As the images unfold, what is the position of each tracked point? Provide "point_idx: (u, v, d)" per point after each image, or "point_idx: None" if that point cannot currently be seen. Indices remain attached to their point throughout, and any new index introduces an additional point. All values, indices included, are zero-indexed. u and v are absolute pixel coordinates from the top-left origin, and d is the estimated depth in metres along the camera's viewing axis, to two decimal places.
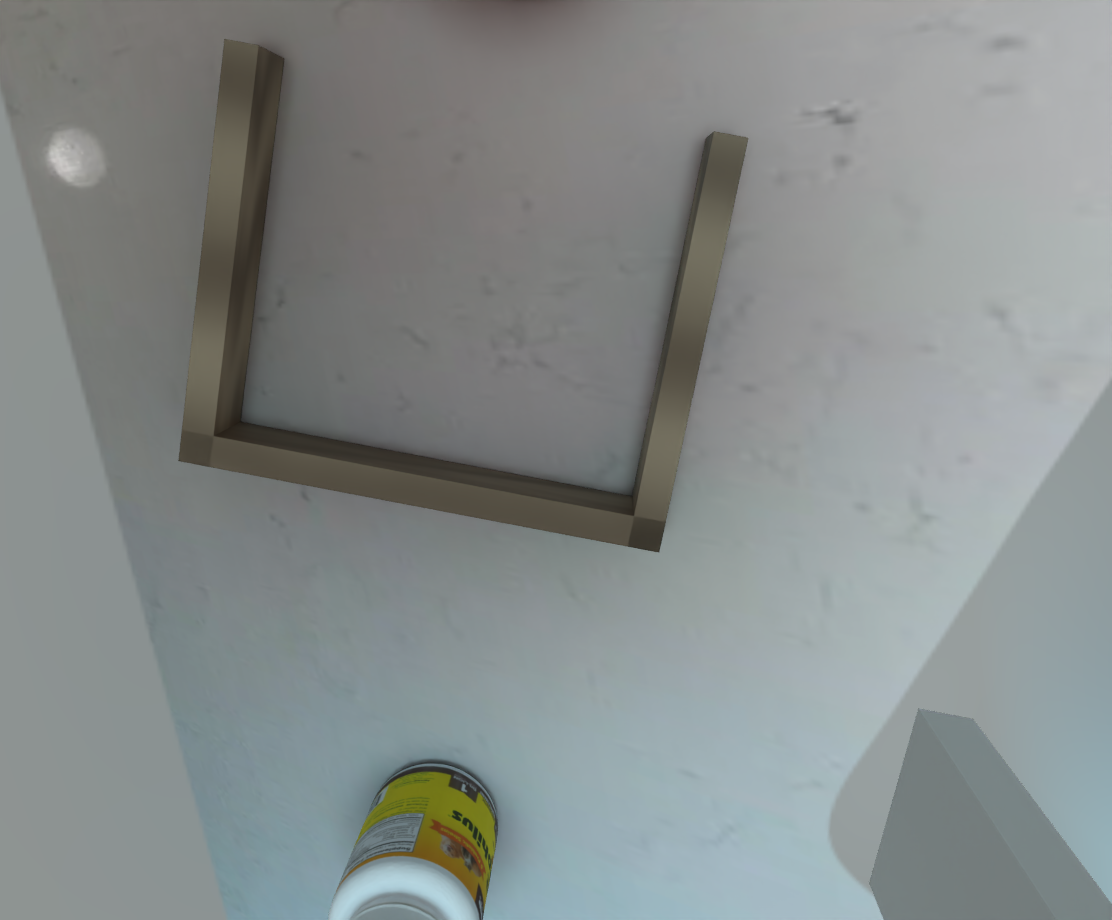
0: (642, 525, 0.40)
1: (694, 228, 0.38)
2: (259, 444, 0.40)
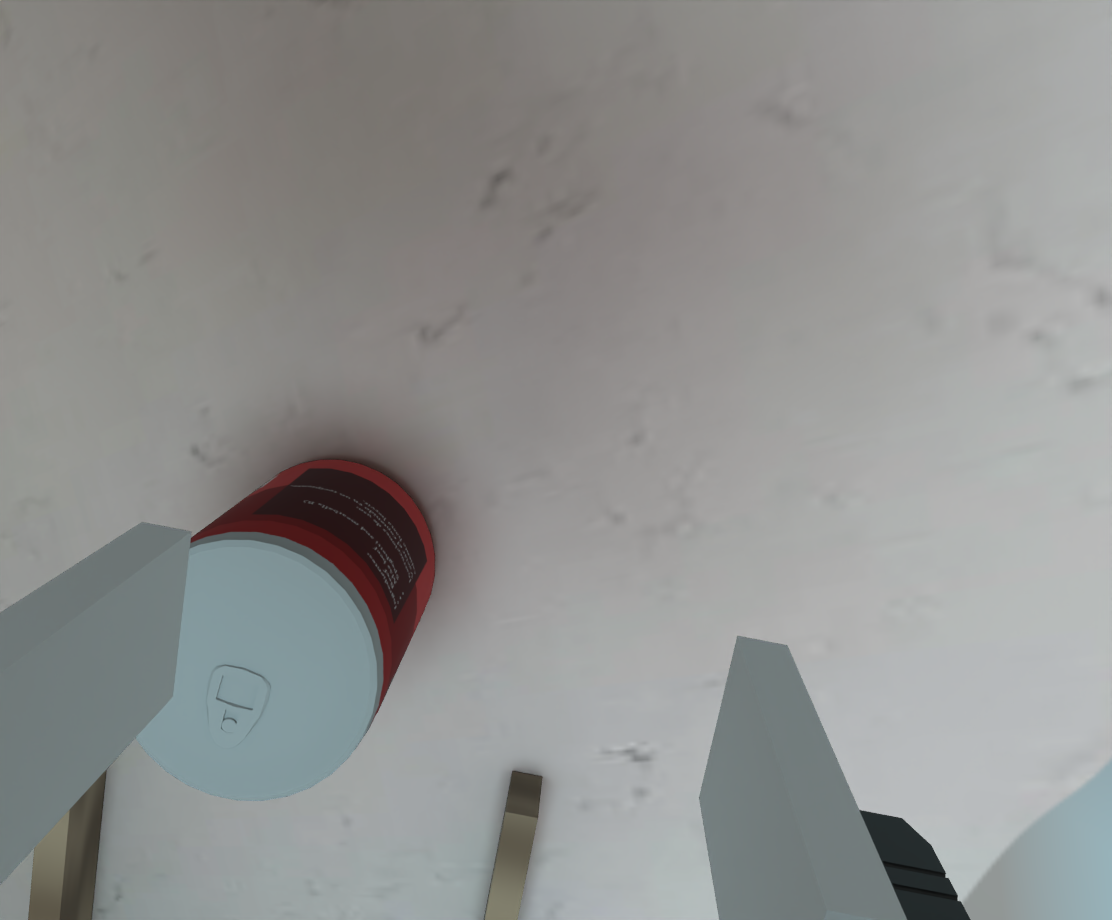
0: None
1: (491, 889, 0.40)
2: None
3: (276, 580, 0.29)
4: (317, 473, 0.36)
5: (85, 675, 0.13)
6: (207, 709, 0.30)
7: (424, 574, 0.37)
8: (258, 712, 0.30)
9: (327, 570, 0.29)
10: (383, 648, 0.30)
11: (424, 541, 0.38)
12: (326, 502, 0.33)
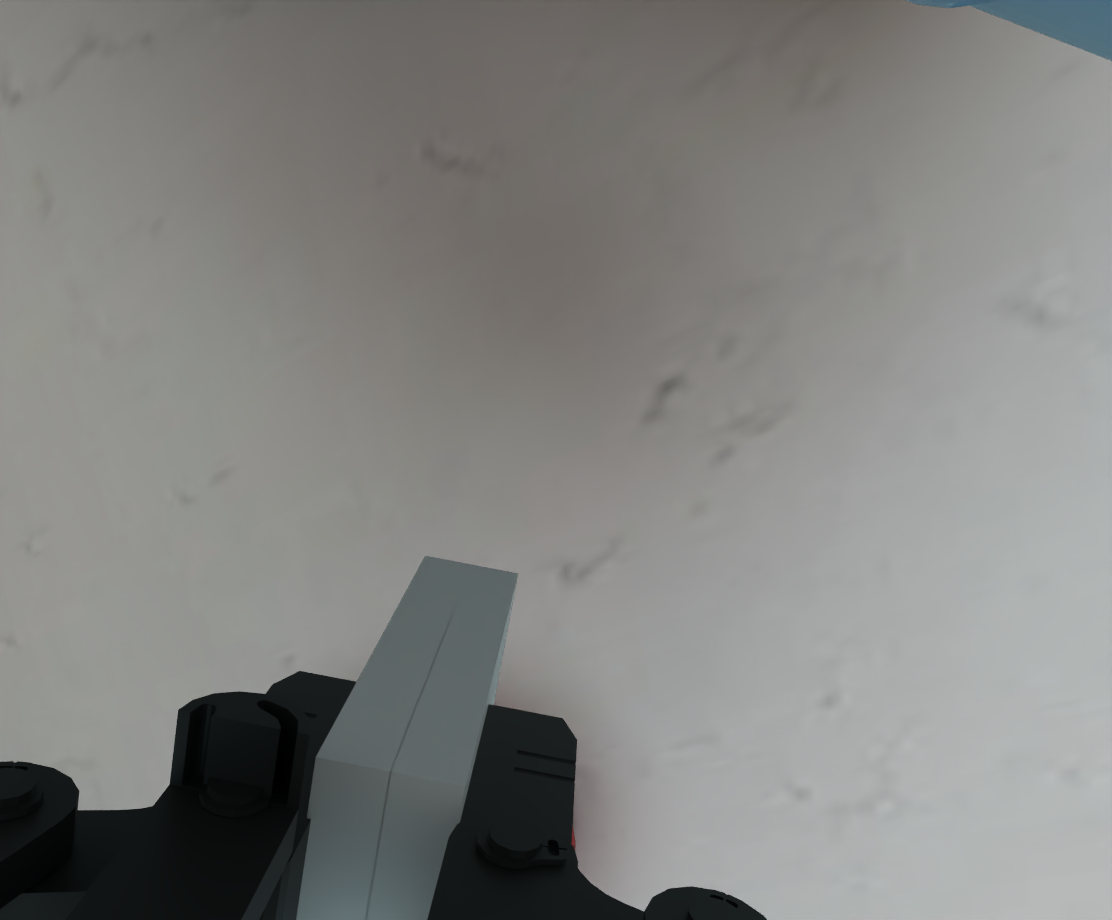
0: None
1: None
2: None
3: None
4: None
5: None
6: None
7: None
8: None
9: None
10: None
11: None
12: None
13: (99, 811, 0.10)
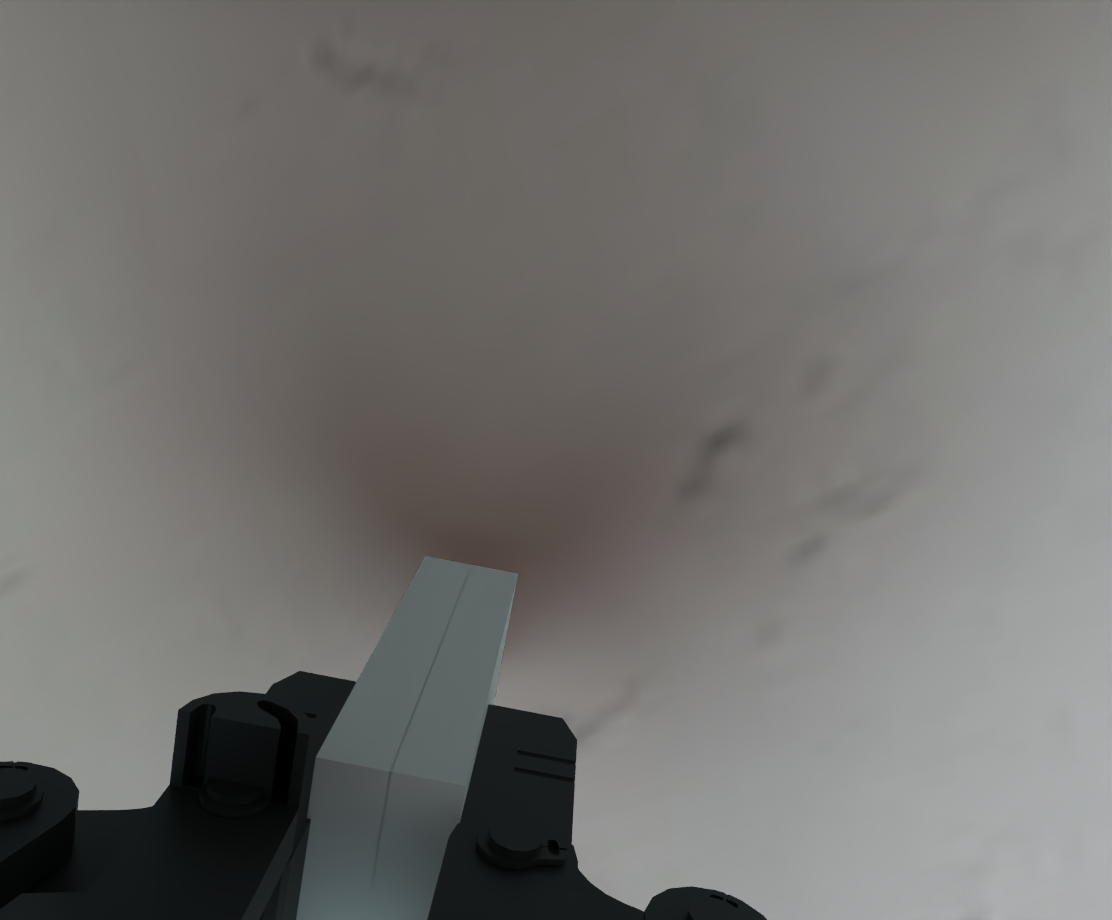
0: None
1: None
2: None
3: None
4: None
5: None
6: None
7: None
8: None
9: None
10: None
11: None
12: None
13: (100, 811, 0.10)
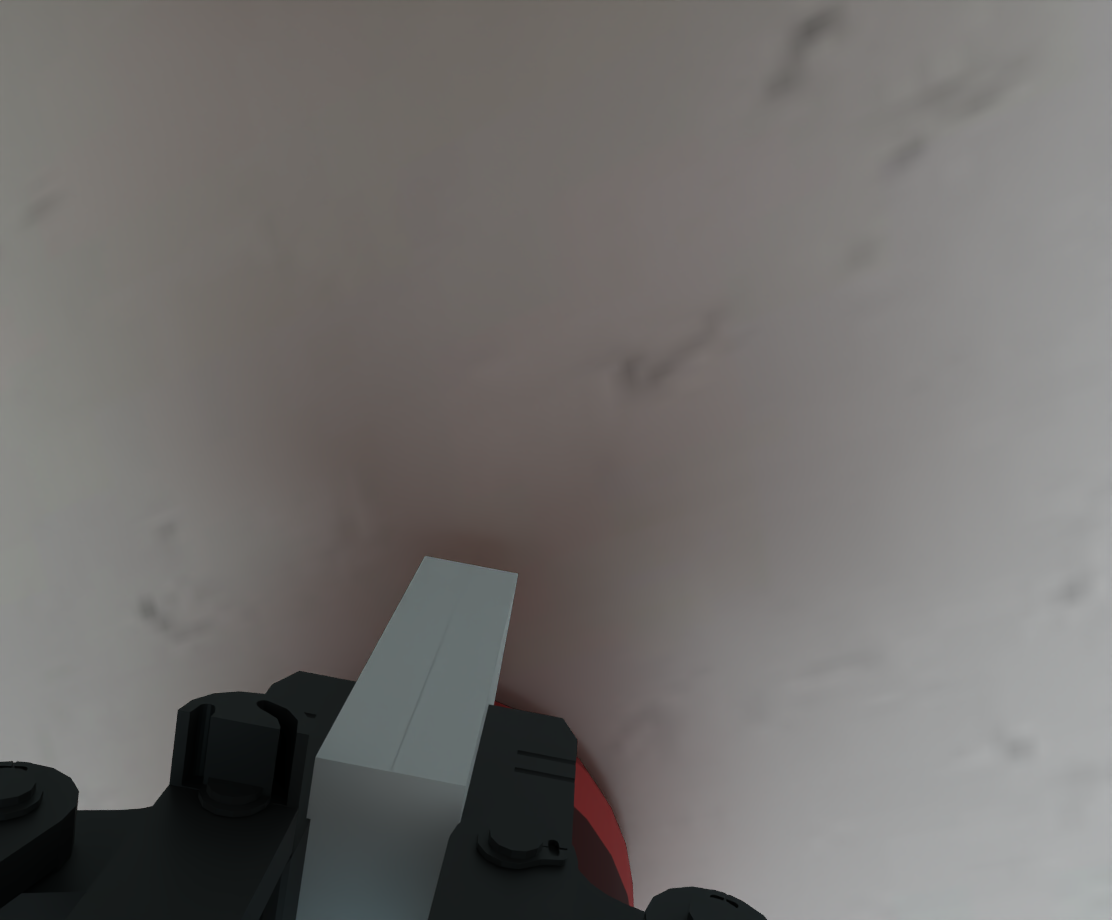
0: None
1: None
2: None
3: None
4: None
5: None
6: None
7: None
8: None
9: None
10: None
11: (625, 882, 0.18)
12: None
13: (99, 811, 0.10)
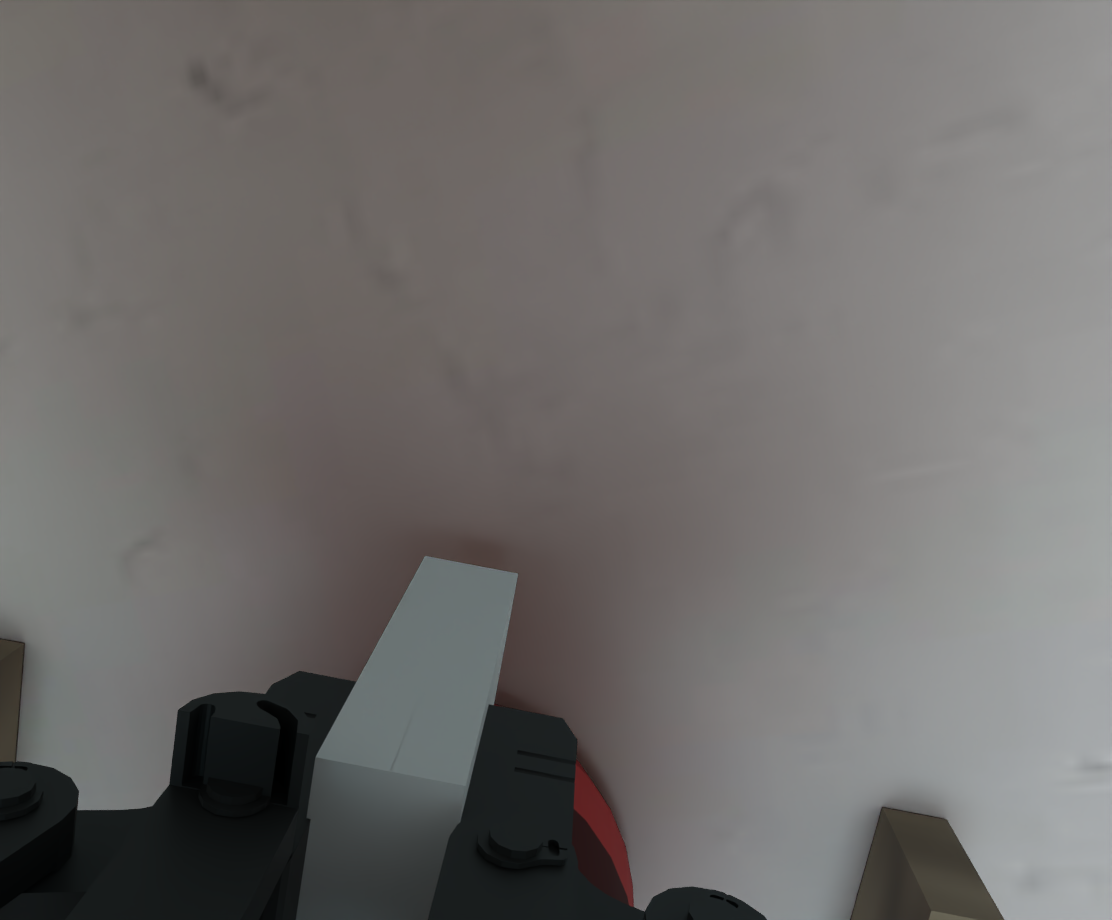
0: None
1: None
2: None
3: None
4: None
5: None
6: None
7: None
8: None
9: None
10: None
11: (624, 884, 0.18)
12: None
13: (100, 811, 0.10)
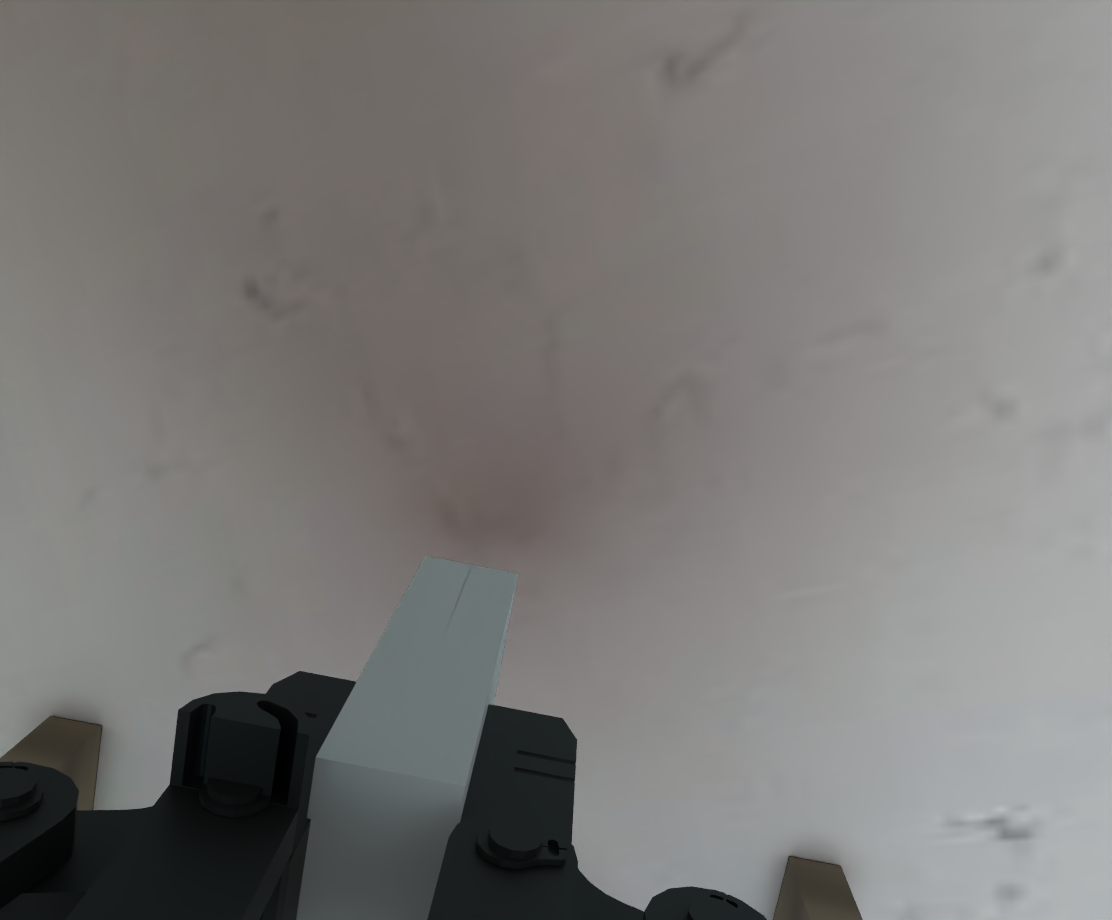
0: None
1: None
2: None
3: None
4: None
5: None
6: None
7: None
8: None
9: None
10: None
11: None
12: None
13: (100, 812, 0.10)
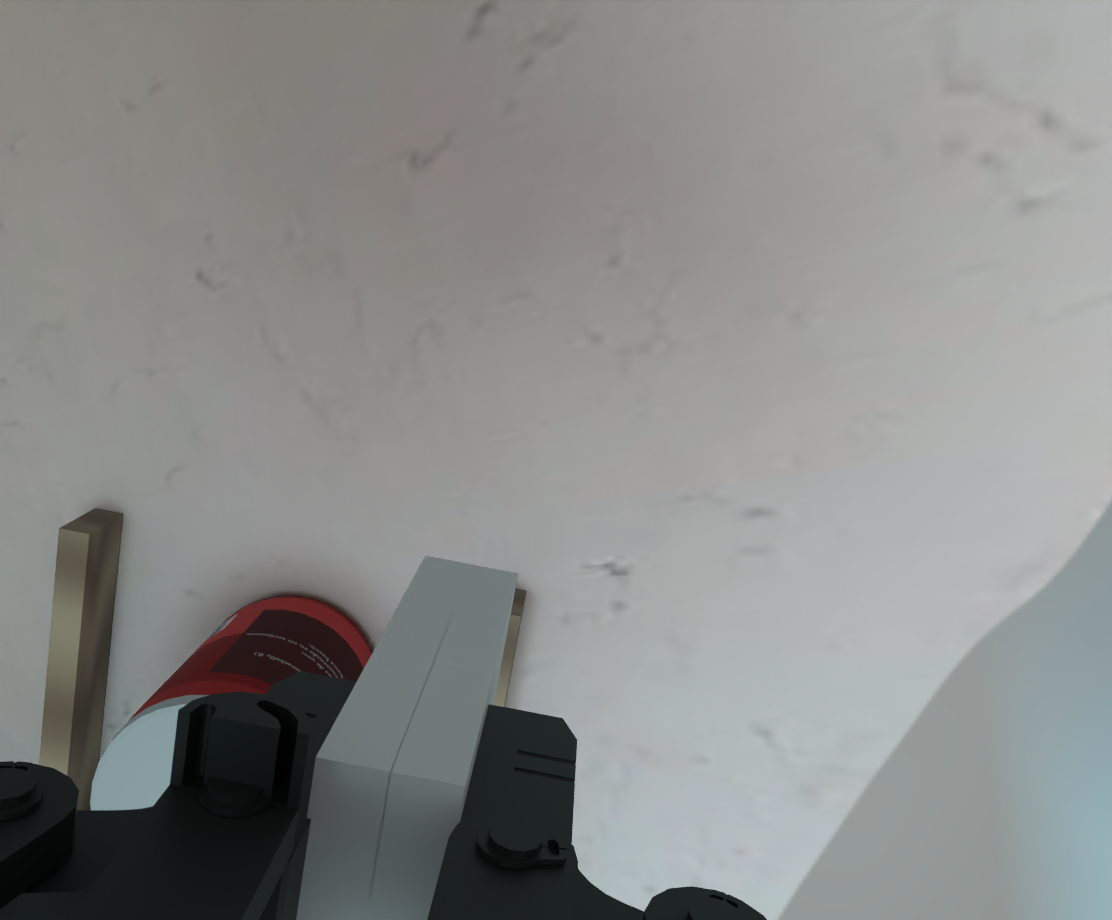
0: None
1: None
2: None
3: None
4: (270, 616, 0.42)
5: None
6: None
7: None
8: None
9: None
10: None
11: None
12: (274, 652, 0.39)
13: (100, 811, 0.10)
